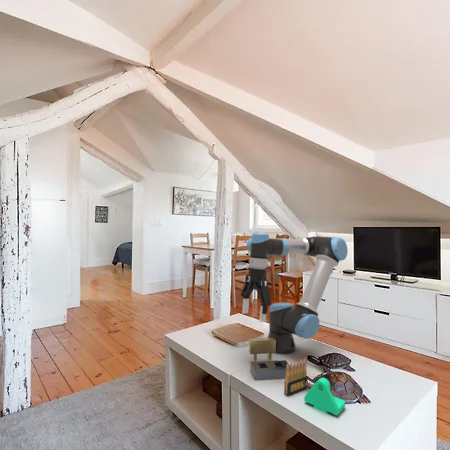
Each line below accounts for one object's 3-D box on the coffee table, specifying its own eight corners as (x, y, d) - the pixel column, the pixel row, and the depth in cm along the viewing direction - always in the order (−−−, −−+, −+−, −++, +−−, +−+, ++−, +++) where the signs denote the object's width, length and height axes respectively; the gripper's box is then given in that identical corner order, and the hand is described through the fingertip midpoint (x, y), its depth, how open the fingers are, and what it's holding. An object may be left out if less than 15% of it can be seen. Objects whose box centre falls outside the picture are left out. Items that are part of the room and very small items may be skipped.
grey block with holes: (285, 369, 135) (285, 360, 135) (292, 378, 127) (292, 368, 127) (250, 371, 133) (250, 361, 133) (254, 380, 125) (254, 370, 125)
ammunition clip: (287, 397, 114) (287, 364, 114) (284, 394, 115) (284, 362, 115) (307, 389, 119) (307, 358, 119) (304, 386, 121) (304, 356, 121)
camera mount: (346, 408, 107) (346, 379, 107) (337, 418, 101) (337, 387, 101) (314, 395, 115) (314, 368, 115) (304, 404, 109) (304, 375, 109)
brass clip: (273, 361, 143) (273, 337, 143) (275, 363, 140) (275, 340, 140) (248, 362, 142) (248, 338, 142) (250, 365, 139) (250, 341, 139)
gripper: (235, 264, 142) (231, 310, 141) (267, 271, 120) (262, 325, 119) (249, 265, 145) (245, 310, 144) (282, 272, 123) (278, 325, 122)
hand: (253, 317), depth 132 cm, fingers open, 13 cm apart
